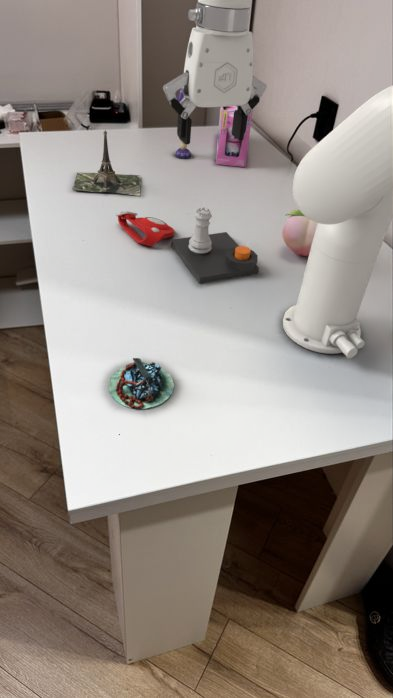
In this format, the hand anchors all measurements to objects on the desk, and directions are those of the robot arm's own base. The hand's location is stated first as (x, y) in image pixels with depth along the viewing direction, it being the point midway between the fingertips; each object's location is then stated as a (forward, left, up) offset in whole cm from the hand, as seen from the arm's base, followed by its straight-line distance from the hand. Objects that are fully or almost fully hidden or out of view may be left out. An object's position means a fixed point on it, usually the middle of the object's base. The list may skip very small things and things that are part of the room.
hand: (211, 139), depth 88 cm
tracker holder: (+11, +7, -22) cm, 26 cm away
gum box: (+49, -31, -22) cm, 62 cm away
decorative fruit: (-5, -20, -22) cm, 30 cm away
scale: (-2, -2, -22) cm, 22 cm away
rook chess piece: (0, 0, -21) cm, 21 cm away
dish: (-30, +22, -22) cm, 43 cm away
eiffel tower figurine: (+35, +8, -22) cm, 42 cm away
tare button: (-6, -5, -19) cm, 21 cm away
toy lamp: (+48, -16, -22) cm, 55 cm away
